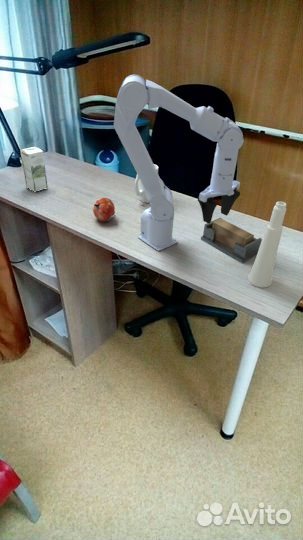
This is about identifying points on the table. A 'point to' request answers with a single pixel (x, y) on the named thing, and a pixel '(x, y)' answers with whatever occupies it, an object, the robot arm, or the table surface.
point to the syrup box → (34, 168)
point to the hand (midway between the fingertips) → (215, 217)
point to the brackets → (237, 253)
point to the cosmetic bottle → (268, 249)
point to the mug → (142, 189)
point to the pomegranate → (104, 209)
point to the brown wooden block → (231, 234)
